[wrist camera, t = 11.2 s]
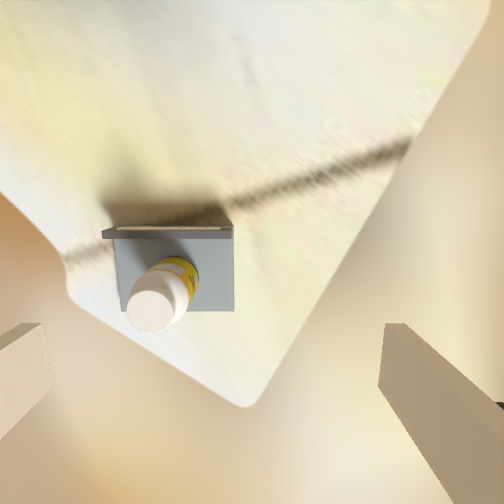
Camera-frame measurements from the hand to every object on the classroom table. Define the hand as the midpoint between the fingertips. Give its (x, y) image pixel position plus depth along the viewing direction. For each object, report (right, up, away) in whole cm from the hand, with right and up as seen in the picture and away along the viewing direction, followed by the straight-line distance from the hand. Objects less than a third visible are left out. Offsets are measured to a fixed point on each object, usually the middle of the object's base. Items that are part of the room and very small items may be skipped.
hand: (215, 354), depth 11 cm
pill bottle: (-9, +1, +29) cm, 31 cm away
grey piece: (-9, +2, +31) cm, 32 cm away
